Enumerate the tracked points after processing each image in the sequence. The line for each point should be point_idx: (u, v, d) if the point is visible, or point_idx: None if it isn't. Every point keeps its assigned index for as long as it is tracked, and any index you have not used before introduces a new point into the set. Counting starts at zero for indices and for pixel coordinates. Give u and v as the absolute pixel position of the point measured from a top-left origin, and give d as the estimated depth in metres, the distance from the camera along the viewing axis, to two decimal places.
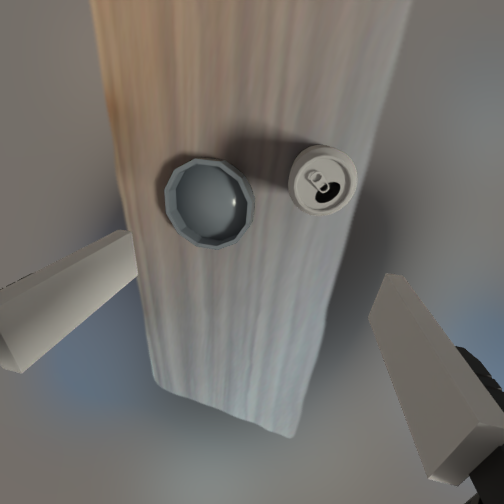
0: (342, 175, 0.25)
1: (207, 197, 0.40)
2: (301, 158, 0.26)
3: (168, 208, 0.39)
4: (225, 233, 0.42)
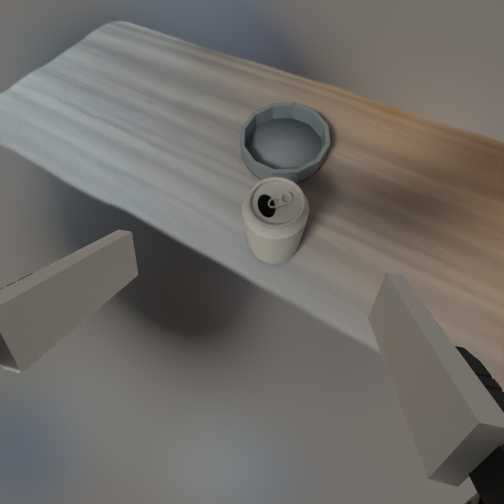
0: (277, 221, 0.25)
1: (290, 145, 0.41)
2: (305, 198, 0.26)
3: (297, 106, 0.41)
4: (251, 147, 0.42)
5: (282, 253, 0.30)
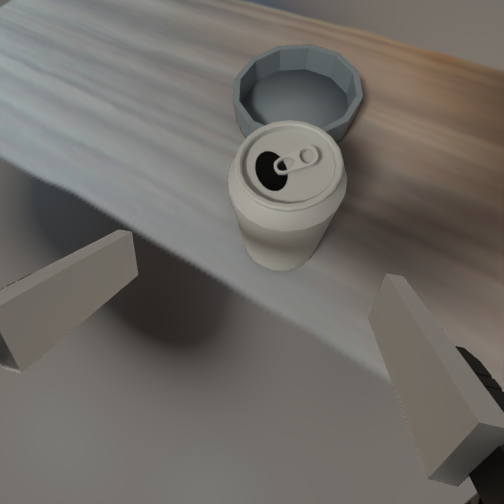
0: (291, 198, 0.13)
1: (304, 105, 0.30)
2: None
3: (314, 48, 0.29)
4: (249, 107, 0.30)
5: (295, 255, 0.19)
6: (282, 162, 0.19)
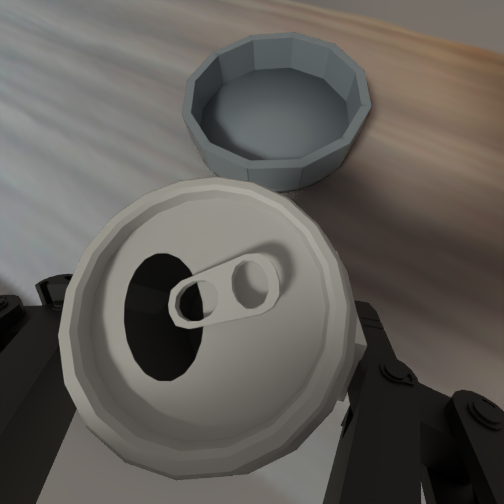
0: (205, 410, 0.05)
1: (287, 117, 0.21)
2: None
3: (300, 38, 0.21)
4: (211, 119, 0.22)
5: None
6: None
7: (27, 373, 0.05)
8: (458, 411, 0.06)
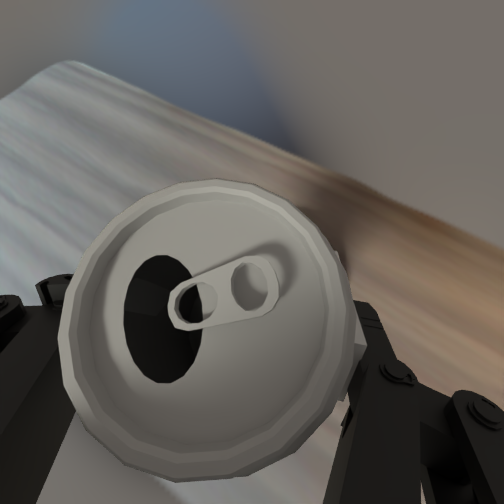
0: (204, 412, 0.05)
1: None
2: None
3: None
4: None
5: None
6: None
7: (27, 373, 0.05)
8: (458, 411, 0.06)
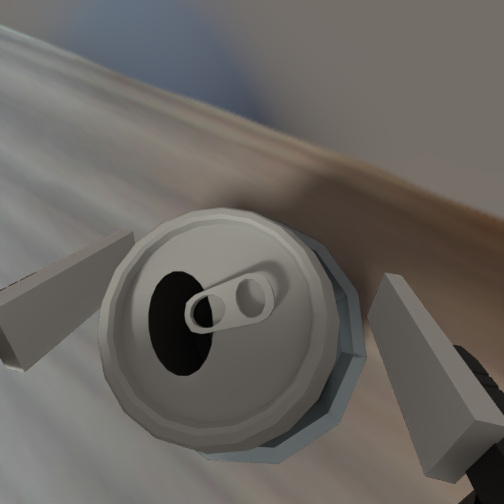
0: (215, 398, 0.06)
1: None
2: (325, 278, 0.08)
3: None
4: None
5: None
6: None
7: None
8: None
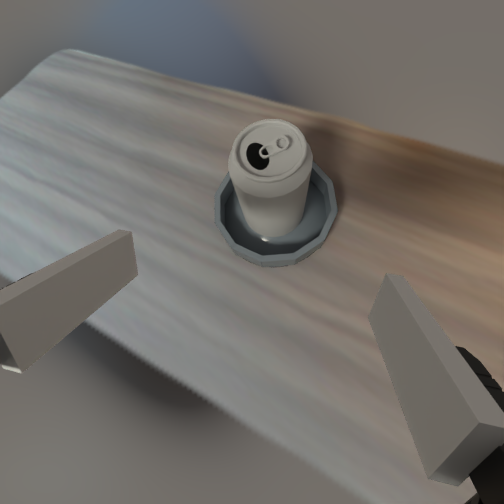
0: (273, 173, 0.19)
1: None
2: (307, 143, 0.21)
3: None
4: (231, 214, 0.31)
5: (283, 220, 0.25)
6: (268, 150, 0.25)
7: None
8: None
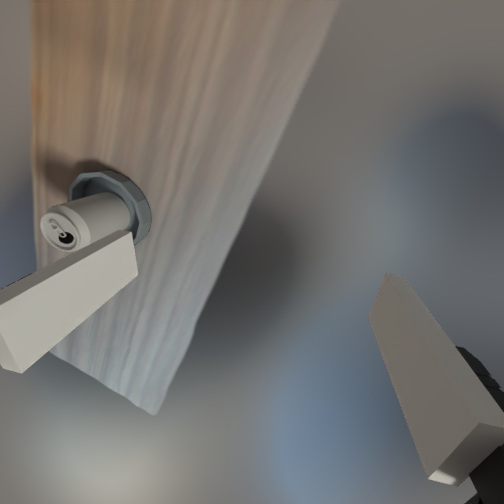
0: (73, 230, 0.35)
1: None
2: (51, 208, 0.35)
3: None
4: None
5: (109, 213, 0.39)
6: None
7: None
8: None
